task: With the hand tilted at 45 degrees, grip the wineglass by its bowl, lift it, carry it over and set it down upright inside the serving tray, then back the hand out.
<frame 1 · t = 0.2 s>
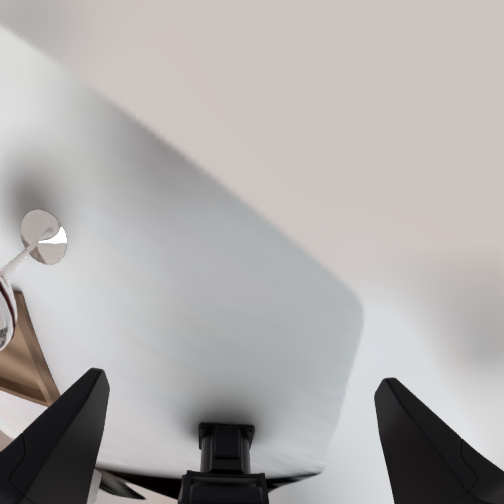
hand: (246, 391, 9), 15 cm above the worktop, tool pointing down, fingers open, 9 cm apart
wineglass: (43, 236, 22), on the worktop
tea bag: (82, 464, 41), on the worktop
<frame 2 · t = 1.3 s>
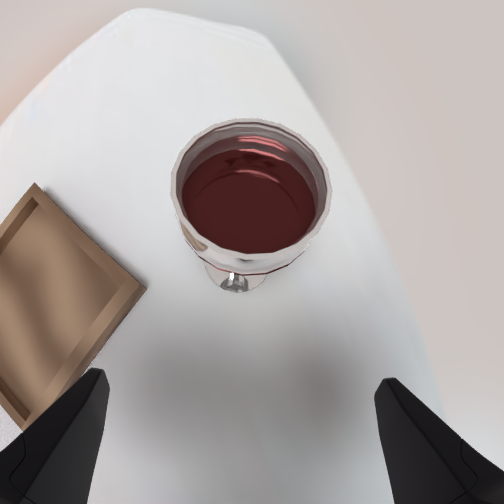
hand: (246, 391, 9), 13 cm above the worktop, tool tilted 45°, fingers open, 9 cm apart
wineglass: (237, 260, 24), on the worktop
tray: (31, 308, 21), on the worktop
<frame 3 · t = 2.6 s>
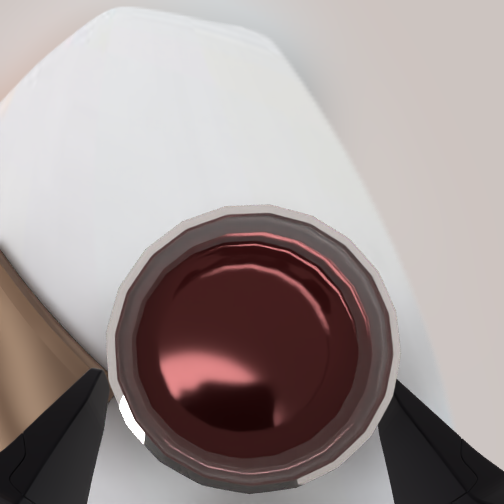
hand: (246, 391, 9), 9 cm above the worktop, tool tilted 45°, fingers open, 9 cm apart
wineglass: (235, 350, 18), on the worktop
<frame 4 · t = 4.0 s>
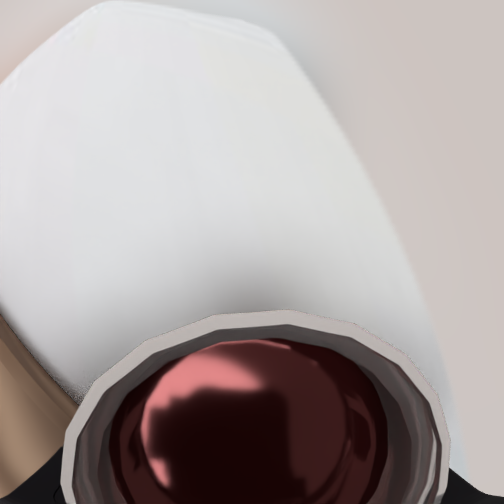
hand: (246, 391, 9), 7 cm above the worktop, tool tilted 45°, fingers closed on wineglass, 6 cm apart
wineglass: (235, 398, 15), on the worktop, touching gripper
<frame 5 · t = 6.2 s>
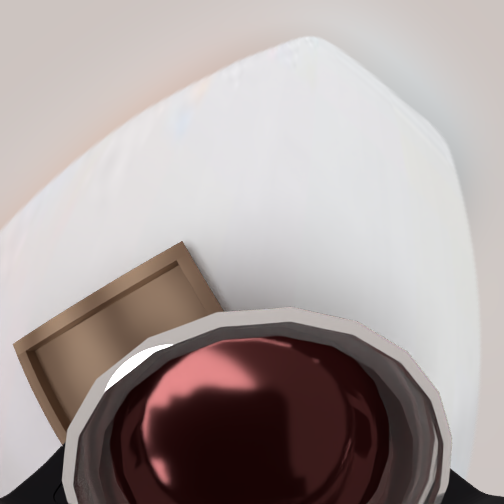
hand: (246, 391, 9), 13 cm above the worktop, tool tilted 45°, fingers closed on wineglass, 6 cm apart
wineglass: (236, 397, 15), point 6 cm above the worktop, touching gripper
tray: (140, 383, 21), on the worktop
when the fingers open (8 cm above the worktop, at t = 8.4 s): wineglass drops 1 cm, resting on tray.
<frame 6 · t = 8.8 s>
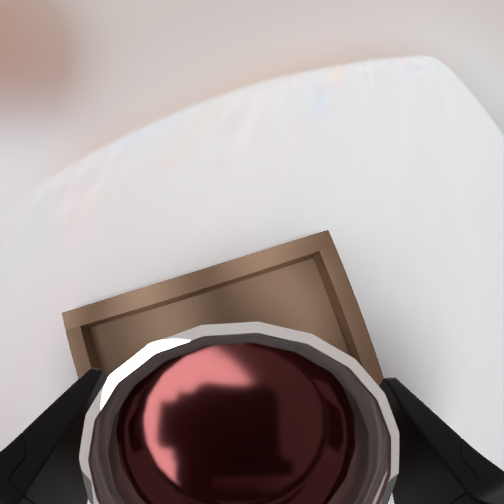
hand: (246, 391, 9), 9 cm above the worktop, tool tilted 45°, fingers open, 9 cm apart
wineglass: (229, 397, 16), resting on tray
tray: (234, 393, 17), on the worktop
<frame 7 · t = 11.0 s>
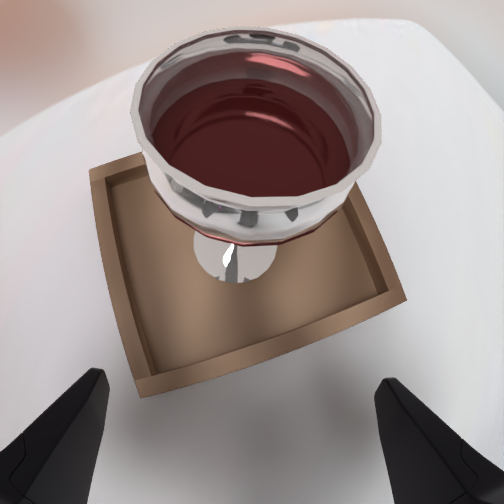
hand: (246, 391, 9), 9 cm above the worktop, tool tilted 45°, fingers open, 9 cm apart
wineglass: (235, 242, 19), resting on tray
tray: (240, 242, 19), on the worktop
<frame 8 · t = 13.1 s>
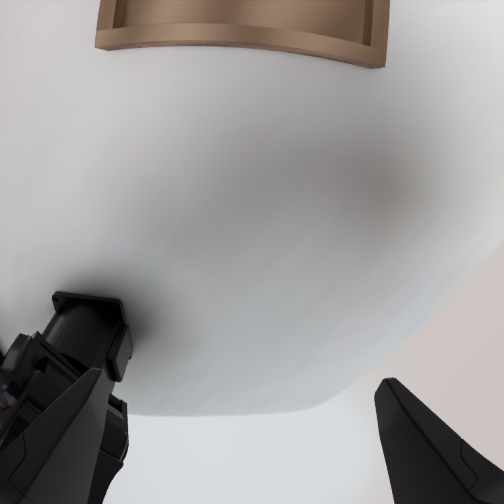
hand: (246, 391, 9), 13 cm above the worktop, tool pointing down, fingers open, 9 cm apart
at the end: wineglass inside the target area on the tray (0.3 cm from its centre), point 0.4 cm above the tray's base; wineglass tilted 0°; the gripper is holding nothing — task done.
